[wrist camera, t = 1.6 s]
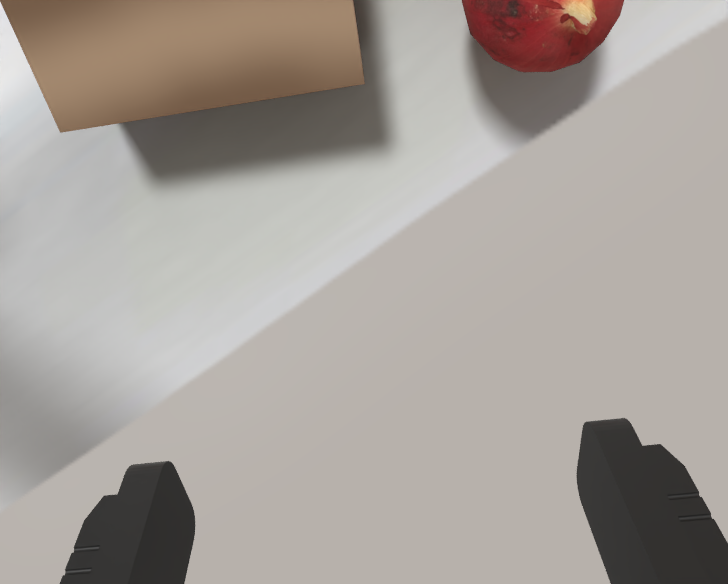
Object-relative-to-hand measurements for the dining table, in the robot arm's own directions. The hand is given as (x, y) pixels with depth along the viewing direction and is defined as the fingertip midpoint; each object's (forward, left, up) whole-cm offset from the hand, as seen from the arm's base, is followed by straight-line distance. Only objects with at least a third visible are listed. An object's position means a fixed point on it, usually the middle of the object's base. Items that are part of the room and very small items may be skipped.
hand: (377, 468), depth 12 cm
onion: (-5, +8, -21) cm, 23 cm away
